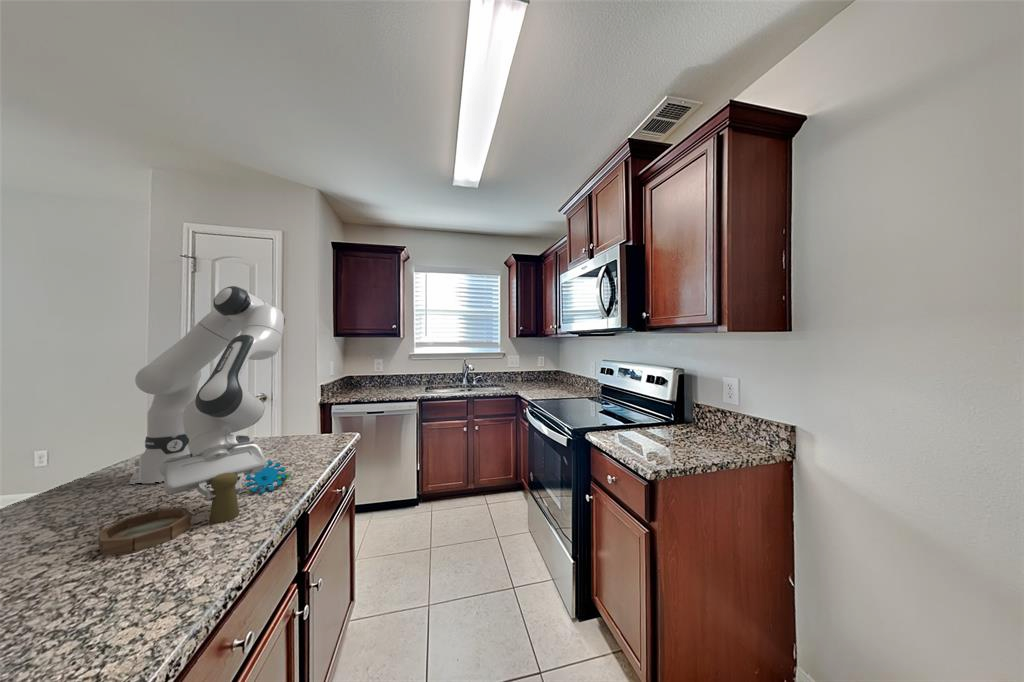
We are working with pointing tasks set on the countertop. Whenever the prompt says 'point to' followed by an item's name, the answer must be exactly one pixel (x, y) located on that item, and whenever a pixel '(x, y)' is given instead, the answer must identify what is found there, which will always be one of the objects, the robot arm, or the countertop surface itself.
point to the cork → (224, 498)
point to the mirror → (144, 531)
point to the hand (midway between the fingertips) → (225, 495)
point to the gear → (267, 477)
